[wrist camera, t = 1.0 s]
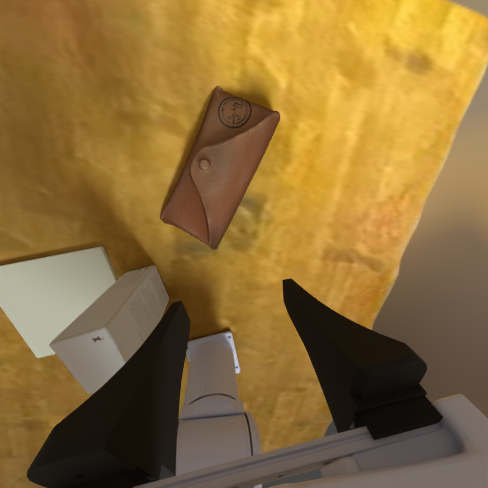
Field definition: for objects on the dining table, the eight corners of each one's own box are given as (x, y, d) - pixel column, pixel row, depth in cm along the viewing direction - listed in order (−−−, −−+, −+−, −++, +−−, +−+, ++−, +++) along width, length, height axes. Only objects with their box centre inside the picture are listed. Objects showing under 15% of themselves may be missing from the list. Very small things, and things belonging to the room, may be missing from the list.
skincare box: (124, 271, 24) (44, 343, 13) (155, 263, 24) (104, 325, 13) (142, 307, 26) (86, 397, 15) (170, 299, 26) (138, 380, 15)
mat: (140, 330, 27) (138, 333, 26) (40, 355, 25) (37, 358, 25) (103, 245, 23) (100, 247, 22) (-20, 269, 21) (-25, 271, 21)
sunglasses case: (213, 77, 19) (250, 62, 15) (253, 121, 24) (290, 119, 20) (156, 222, 23) (172, 245, 18) (202, 235, 28) (223, 255, 23)
